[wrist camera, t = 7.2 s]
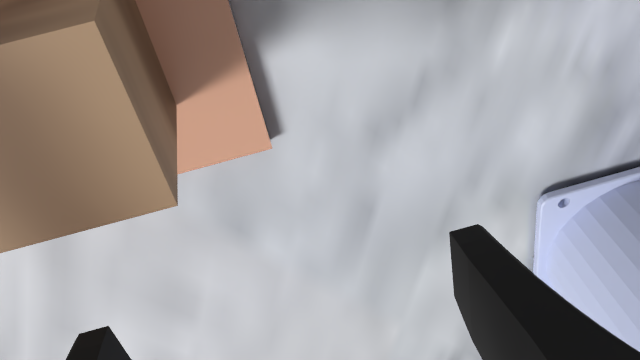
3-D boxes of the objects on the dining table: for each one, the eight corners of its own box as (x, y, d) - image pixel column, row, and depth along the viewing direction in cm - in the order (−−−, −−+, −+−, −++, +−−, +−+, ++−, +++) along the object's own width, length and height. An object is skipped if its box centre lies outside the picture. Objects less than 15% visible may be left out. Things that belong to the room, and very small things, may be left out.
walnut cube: (113, -54, 16) (94, 20, 12) (176, 105, 19) (177, 205, 15) (-75, -7, 15) (-159, 84, 12) (20, 146, 19) (-20, 258, 15)
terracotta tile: (172, -186, 15) (173, -182, 14) (270, 140, 21) (272, 148, 20) (-234, -83, 14) (-245, -77, 14) (-10, 216, 21) (-14, 226, 20)
